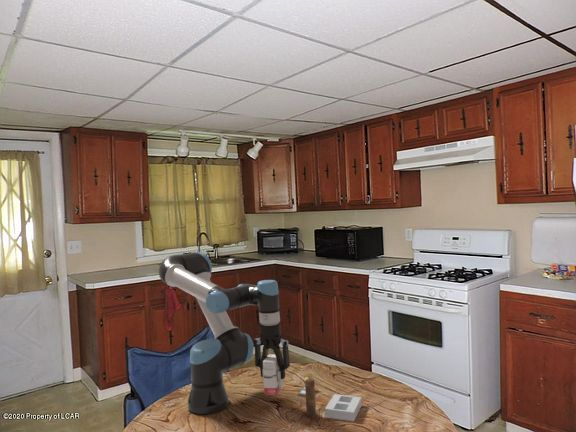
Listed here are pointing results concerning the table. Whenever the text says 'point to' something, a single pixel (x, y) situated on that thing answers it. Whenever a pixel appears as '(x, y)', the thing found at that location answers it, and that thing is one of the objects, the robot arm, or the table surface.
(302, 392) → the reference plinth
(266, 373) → the ink box
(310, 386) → the walnut peg
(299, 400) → the table surface
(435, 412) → the table surface
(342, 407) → the socket board
